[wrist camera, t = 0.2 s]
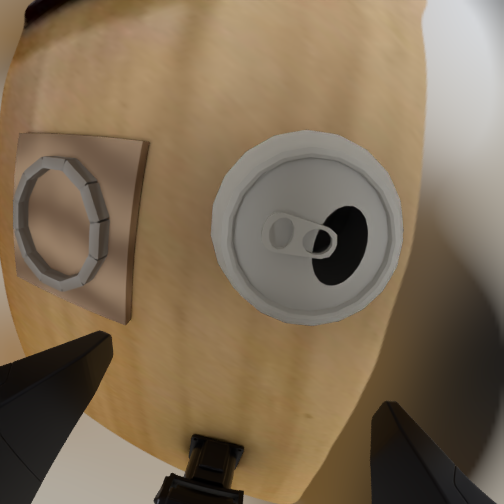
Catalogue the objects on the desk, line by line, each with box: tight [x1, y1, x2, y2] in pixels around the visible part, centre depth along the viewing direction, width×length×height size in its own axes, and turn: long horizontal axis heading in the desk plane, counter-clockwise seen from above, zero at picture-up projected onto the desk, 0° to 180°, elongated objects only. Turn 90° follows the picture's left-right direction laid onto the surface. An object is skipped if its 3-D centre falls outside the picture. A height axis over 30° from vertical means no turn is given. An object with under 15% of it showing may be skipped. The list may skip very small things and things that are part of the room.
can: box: [211, 130, 403, 326], centre depth 15 cm, size 8×8×12 cm
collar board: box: [13, 133, 150, 325], centre depth 22 cm, size 16×16×3 cm
